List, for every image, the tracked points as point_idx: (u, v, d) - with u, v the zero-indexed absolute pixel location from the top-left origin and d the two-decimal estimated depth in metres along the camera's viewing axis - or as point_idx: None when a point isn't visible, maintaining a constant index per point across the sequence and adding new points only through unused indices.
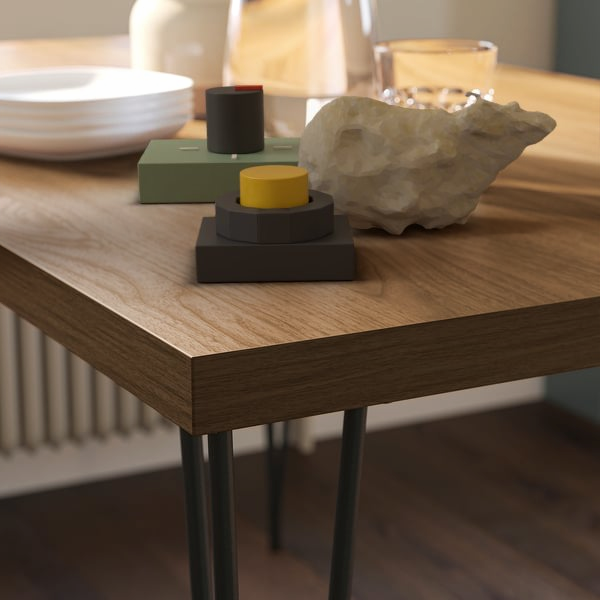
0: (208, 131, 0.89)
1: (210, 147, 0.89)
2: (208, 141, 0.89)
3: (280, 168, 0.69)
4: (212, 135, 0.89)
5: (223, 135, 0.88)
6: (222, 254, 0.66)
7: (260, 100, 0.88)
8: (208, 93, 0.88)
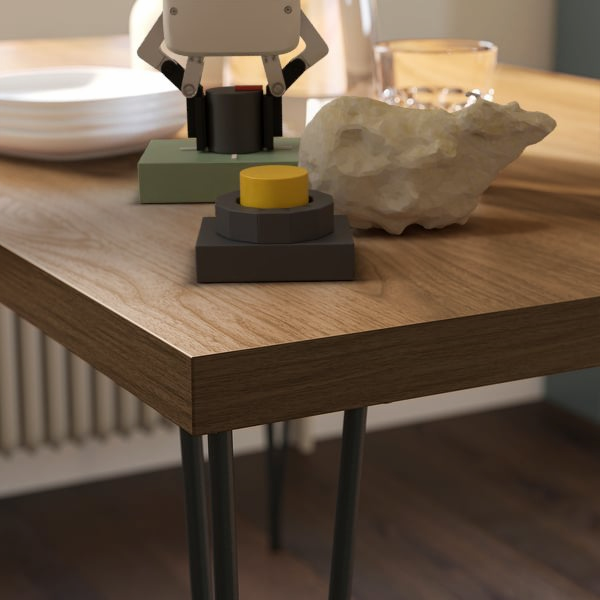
0: (208, 131, 0.89)
1: (210, 147, 0.89)
2: (208, 141, 0.89)
3: (280, 168, 0.69)
4: (212, 135, 0.89)
5: (223, 135, 0.88)
6: (222, 254, 0.66)
7: (260, 100, 0.88)
8: (208, 93, 0.88)
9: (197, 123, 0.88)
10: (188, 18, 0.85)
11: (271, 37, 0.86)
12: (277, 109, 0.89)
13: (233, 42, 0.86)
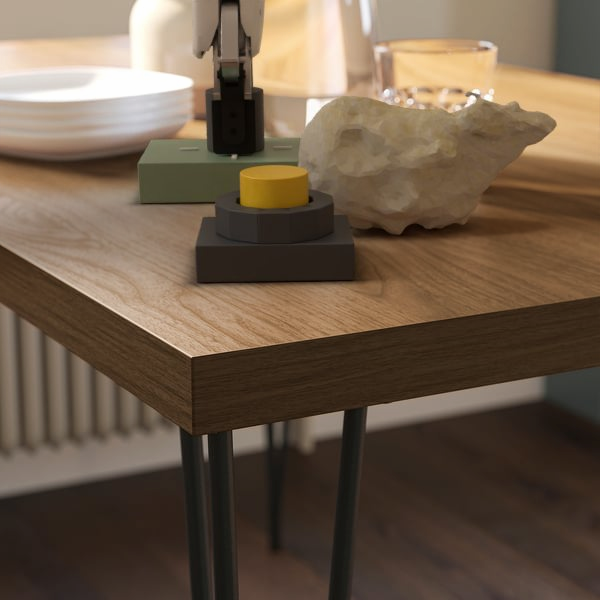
0: None
1: None
2: None
3: (280, 168, 0.69)
4: None
5: (262, 132, 0.89)
6: (222, 254, 0.66)
7: None
8: None
9: (255, 125, 0.87)
10: (261, 18, 0.84)
11: None
12: None
13: None
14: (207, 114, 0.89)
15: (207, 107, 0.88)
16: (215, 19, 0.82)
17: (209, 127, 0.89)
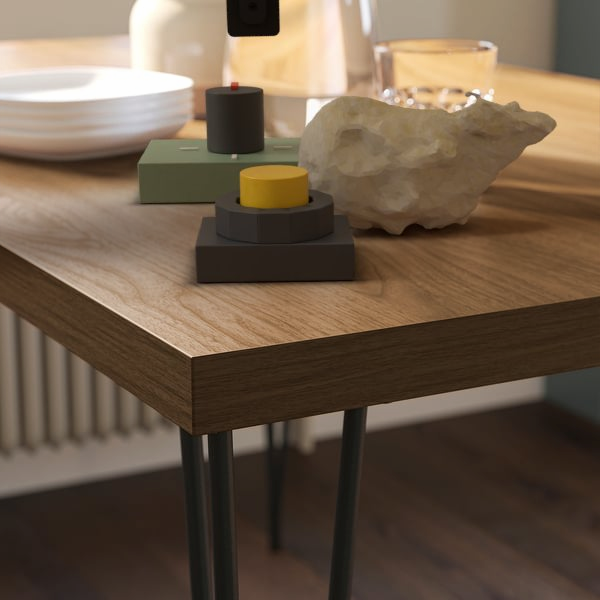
0: (246, 133, 0.88)
1: (249, 148, 0.88)
2: (245, 143, 0.88)
3: (280, 168, 0.69)
4: (253, 135, 0.88)
5: (262, 132, 0.89)
6: (222, 254, 0.66)
7: None
8: (248, 94, 0.87)
9: None
10: None
11: None
12: None
13: None
14: (207, 114, 0.89)
15: (207, 107, 0.88)
16: None
17: (209, 127, 0.89)
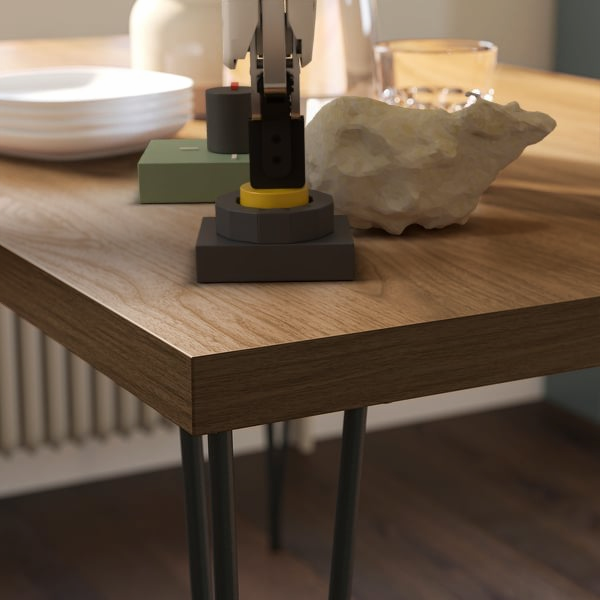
0: (246, 133, 0.88)
1: None
2: (245, 143, 0.88)
3: None
4: None
5: None
6: (222, 254, 0.66)
7: None
8: (248, 94, 0.87)
9: (304, 151, 0.68)
10: (315, 15, 0.63)
11: None
12: None
13: None
14: (207, 114, 0.89)
15: (207, 107, 0.88)
16: (254, 16, 0.61)
17: (209, 127, 0.89)
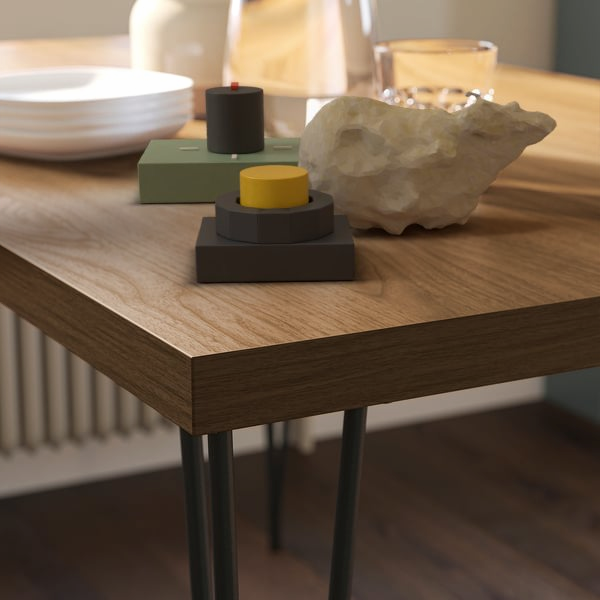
0: (246, 133, 0.88)
1: (249, 148, 0.88)
2: (245, 143, 0.88)
3: (280, 168, 0.69)
4: (253, 135, 0.88)
5: (262, 132, 0.89)
6: (222, 254, 0.66)
7: None
8: (248, 94, 0.87)
9: None
10: None
11: None
12: None
13: None
14: (207, 114, 0.89)
15: (207, 107, 0.88)
16: None
17: (209, 127, 0.89)
